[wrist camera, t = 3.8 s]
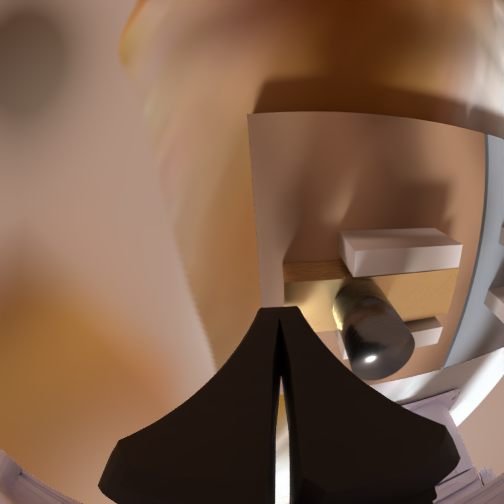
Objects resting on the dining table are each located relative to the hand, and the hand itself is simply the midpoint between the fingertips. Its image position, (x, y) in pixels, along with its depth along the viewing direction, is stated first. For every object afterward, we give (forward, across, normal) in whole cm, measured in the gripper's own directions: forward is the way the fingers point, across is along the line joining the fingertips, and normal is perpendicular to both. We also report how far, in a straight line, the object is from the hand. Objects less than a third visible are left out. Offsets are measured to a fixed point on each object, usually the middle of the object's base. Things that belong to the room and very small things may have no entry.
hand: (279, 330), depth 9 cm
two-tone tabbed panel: (+5, -9, 0) cm, 11 cm away
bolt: (+3, -4, 0) cm, 5 cm away
